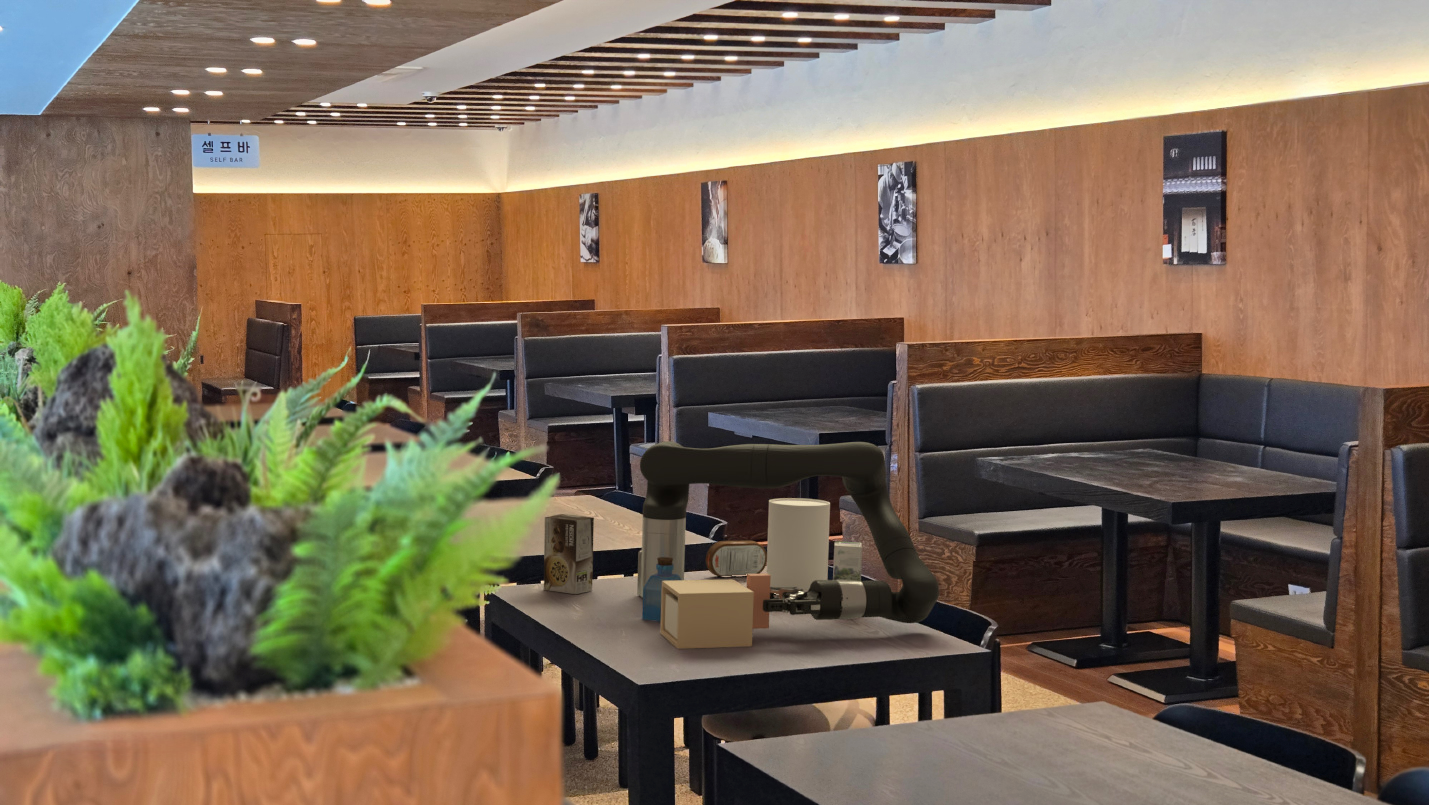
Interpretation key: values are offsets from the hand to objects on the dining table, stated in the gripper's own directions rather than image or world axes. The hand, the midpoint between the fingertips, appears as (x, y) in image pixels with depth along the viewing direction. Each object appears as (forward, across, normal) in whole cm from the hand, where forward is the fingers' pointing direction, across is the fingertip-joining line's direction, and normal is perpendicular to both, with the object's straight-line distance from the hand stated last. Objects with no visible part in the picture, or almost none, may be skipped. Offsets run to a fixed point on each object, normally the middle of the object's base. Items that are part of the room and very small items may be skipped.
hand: (756, 601), depth 267 cm
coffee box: (+26, -52, +7) cm, 58 cm away
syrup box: (-26, -21, +7) cm, 34 cm away
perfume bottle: (+13, -20, +7) cm, 25 cm away
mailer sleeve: (+10, 0, +7) cm, 12 cm away
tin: (-16, -64, +7) cm, 67 cm away
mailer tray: (+7, 0, +6) cm, 9 cm away
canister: (-24, -45, +7) cm, 51 cm away
